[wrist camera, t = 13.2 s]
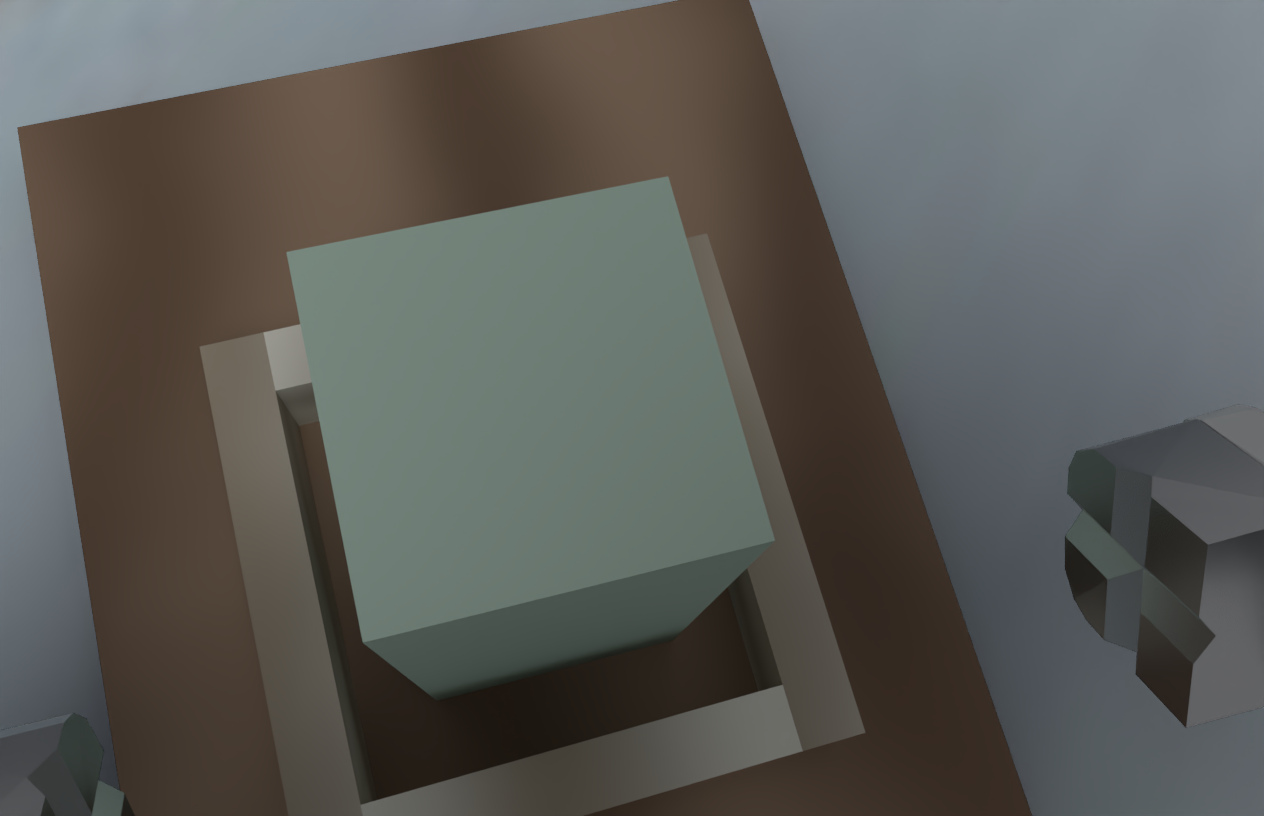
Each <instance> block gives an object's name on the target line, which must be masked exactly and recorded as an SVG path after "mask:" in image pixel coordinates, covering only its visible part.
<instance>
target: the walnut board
mask: <svg viewBox="0 0 1264 816" xmlns="http://www.w3.org/2000/svg"><path fill="white" fill-rule="evenodd" d="M18 135H19V141H20V148H21V154H22V160H23V167H24V173H25V180H26V186H27V193H28V199H29V206H30V212H31V219H32V225H33V232H34V238H35V244H36V251H37V257H38V264H39V270H40V277H41V283H42V290H43V296H44V303H45V309H46V316H47V322H48V328H49V335H50V341H51V348H52V354H53V361H54V367H55V374H56V380H57V387H58V393H59V400H60V406H61V412H62V419H63V425H64V432H65V438H66V445H67V451H68V458H69V464H70V471H71V477H72V483H73V490H74V496H75V503H76V509H77V516H78V522H79V529H80V535H81V542H82V548H83V555H84V561H85V567H86V574H87V580H88V587H89V593H90V600H91V606H92V613H93V619H94V626H95V632H96V639H97V645H98V651H99V658H100V664H101V671H102V677H103V684H104V690H105V697H106V703H107V710H108V716H109V723H110V729H111V735H112V742H113V748H114V755H115V761H116V768H117V774H118V781H119V787H120V791H122V792H124V793H125V795H126V797H127V799H128V802H129V804H130V806H131V808H132V810H133V812H134V814H135V816H1032V814H1031V811H1030V808H1029V805H1028V802H1027V800H1026V797H1025V794H1024V791H1023V788H1022V785H1021V782H1020V779H1019V776H1018V774H1017V771H1016V768H1015V765H1014V762H1013V759H1012V756H1011V753H1010V751H1009V748H1008V745H1007V742H1006V739H1005V736H1004V733H1003V730H1002V728H1001V725H1000V722H999V719H998V716H997V713H996V710H995V707H994V705H993V702H992V699H991V696H990V693H989V690H988V687H987V684H986V681H985V679H984V676H983V673H982V670H981V667H980V664H979V661H978V658H977V656H976V653H975V650H974V647H973V644H972V641H971V638H970V635H969V633H968V630H967V627H966V624H965V621H964V618H963V615H962V612H961V609H960V607H959V604H958V601H957V598H956V595H955V592H954V589H953V586H952V584H951V581H950V578H949V575H948V572H947V569H946V566H945V563H944V561H943V558H942V555H941V552H940V549H939V546H938V543H937V540H936V538H935V535H934V532H933V529H932V526H931V523H930V520H929V517H928V514H927V512H926V509H925V506H924V503H923V500H922V497H921V494H920V491H919V489H918V486H917V483H916V480H915V477H914V474H913V471H912V468H911V466H910V463H909V460H908V457H907V454H906V451H905V448H904V445H903V442H902V440H901V437H900V434H899V431H898V428H897V425H896V422H895V419H894V417H893V414H892V411H891V408H890V405H889V402H888V399H887V396H886V394H885V391H884V388H883V385H882V382H881V379H880V376H879V373H878V370H877V368H876V365H875V362H874V359H873V356H872V353H871V350H870V347H869V345H868V342H867V339H866V336H865V333H864V330H863V327H862V324H861V322H860V319H859V316H858V313H857V310H856V307H855V304H854V301H853V299H852V296H851V293H850V290H849V287H848V284H847V281H846V278H845V275H844V273H843V270H842V267H841V264H840V261H839V258H838V255H837V252H836V250H835V247H834V244H833V241H832V238H831V235H830V232H829V229H828V227H827V224H826V221H825V218H824V215H823V212H822V209H821V206H820V203H819V201H818V198H817V195H816V192H815V189H814V186H813V183H812V180H811V178H810V175H809V172H808V169H807V166H806V163H805V160H804V157H803V155H802V152H801V149H800V146H799V143H798V140H797V137H796V134H795V132H794V129H793V126H792V123H791V120H790V117H789V114H788V111H787V108H786V106H785V103H784V100H783V97H782V94H781V91H780V88H779V85H778V83H777V80H776V77H775V74H774V71H773V68H772V65H771V62H770V60H769V57H768V54H767V51H766V48H765V45H764V42H763V39H762V36H761V34H760V31H759V28H758V25H757V22H756V19H755V16H754V13H753V11H752V8H751V5H750V2H749V0H678V1H673V2H668V3H663V4H657V5H652V6H647V7H642V8H637V9H631V10H626V11H621V12H616V13H611V14H605V15H600V16H595V17H590V18H585V19H579V20H574V21H569V22H564V23H559V24H553V25H548V26H543V27H538V28H533V29H527V30H522V31H517V32H512V33H507V34H501V35H496V36H491V37H486V38H481V39H475V40H470V41H465V42H460V43H455V44H449V45H444V46H439V47H434V48H429V49H423V50H418V51H413V52H408V53H403V54H397V55H392V56H387V57H382V58H377V59H371V60H366V61H361V62H356V63H351V64H345V65H340V66H335V67H330V68H325V69H319V70H314V71H309V72H304V73H299V74H293V75H288V76H283V77H278V78H273V79H267V80H262V81H257V82H252V83H247V84H241V85H236V86H231V87H226V88H221V89H215V90H210V91H205V92H200V93H195V94H189V95H184V96H179V97H174V98H169V99H163V100H158V101H153V102H148V103H143V104H137V105H132V106H127V107H122V108H117V109H111V110H106V111H101V112H96V113H91V114H85V115H80V116H75V117H70V118H65V119H59V120H54V121H49V122H44V123H39V124H33V125H28V126H23V127H18ZM667 176H668V177H669V181H670V184H671V187H672V191H673V194H674V198H675V201H676V204H677V208H678V211H679V215H680V218H681V222H682V225H683V228H684V232H685V235H686V239H687V242H688V245H689V249H690V252H691V256H692V259H693V262H694V266H695V269H696V273H697V276H698V279H699V283H700V286H701V290H702V293H703V297H704V300H705V303H706V307H707V310H708V314H709V317H710V320H711V324H712V327H713V331H714V334H715V337H716V341H717V344H718V348H719V351H720V354H721V358H722V361H723V365H724V368H725V372H726V375H727V378H728V382H729V385H730V389H731V392H732V395H733V399H734V402H735V406H736V409H737V412H738V416H739V419H740V423H741V426H742V429H743V433H744V436H745V440H746V443H747V447H748V450H749V453H750V457H751V460H752V464H753V467H754V470H755V474H756V477H757V481H758V484H759V487H760V491H761V494H762V498H763V501H764V504H765V508H766V511H767V515H768V518H769V522H770V525H771V528H772V532H773V535H774V539H775V541H774V542H773V543H772V544H771V545H770V546H769V547H768V548H767V549H766V550H765V551H764V552H763V553H762V554H761V555H760V556H759V557H758V558H757V559H756V560H755V561H754V562H753V563H752V564H751V565H750V566H749V567H748V568H747V569H746V570H744V571H743V572H742V573H741V574H740V575H739V576H738V577H737V578H736V579H735V580H734V581H733V582H732V583H731V584H730V585H729V586H728V587H727V588H726V589H725V590H724V591H723V592H722V593H721V594H720V595H719V596H718V597H717V598H716V599H715V600H714V601H713V602H712V603H711V604H710V605H709V606H708V607H706V608H705V609H704V610H703V611H702V612H701V613H700V614H699V615H698V616H697V617H696V618H695V619H694V620H693V621H692V622H691V623H690V624H689V625H688V626H687V627H686V628H685V629H684V630H683V631H682V632H681V633H680V634H679V635H678V636H677V637H676V638H675V639H674V640H672V641H668V642H664V643H660V644H656V645H653V646H649V647H645V648H641V649H637V650H633V651H629V652H625V653H621V654H617V655H614V656H610V657H606V658H602V659H598V660H594V661H590V662H586V663H582V664H579V665H575V666H571V667H567V668H563V669H559V670H555V671H551V672H547V673H543V674H540V675H536V676H532V677H528V678H524V679H520V680H516V681H512V682H508V683H505V684H501V685H497V686H493V687H489V688H485V689H481V690H477V691H473V692H469V693H466V694H462V695H458V696H454V697H450V698H446V699H442V700H438V701H437V700H435V699H434V698H433V697H431V696H430V695H429V694H428V693H426V692H425V691H424V690H423V689H421V688H420V687H419V686H417V685H416V684H415V683H414V682H412V681H411V680H410V679H408V678H407V677H406V676H405V675H403V674H402V673H401V672H399V671H398V670H397V669H396V668H394V667H393V666H392V665H391V664H389V663H388V662H387V661H385V660H384V659H383V658H382V657H380V656H379V655H378V654H376V653H375V652H374V651H373V650H371V649H370V648H369V647H368V646H366V645H365V644H364V643H363V642H362V637H361V632H360V626H359V621H358V616H357V611H356V606H355V601H354V596H353V591H352V586H351V580H350V575H349V570H348V565H347V560H346V555H345V550H344V545H343V539H342V534H341V529H340V524H339V519H338V514H337V509H336V504H335V499H334V493H333V488H332V483H331V478H330V473H329V468H328V463H327V458H326V453H325V447H324V442H323V437H322V432H321V427H320V422H319V417H318V412H317V407H316V401H315V396H314V391H313V386H312V381H311V376H310V371H309V366H308V360H307V355H306V350H305V345H304V340H303V335H302V330H301V325H300V320H299V314H298V309H297V304H296V299H295V294H294V289H293V284H292V279H291V274H290V268H289V263H288V258H287V253H286V252H289V251H294V250H299V249H304V248H309V247H314V246H319V245H324V244H329V243H334V242H339V241H344V240H349V239H355V238H360V237H365V236H370V235H375V234H380V233H385V232H390V231H395V230H400V229H405V228H410V227H415V226H420V225H425V224H430V223H435V222H440V221H445V220H450V219H455V218H460V217H465V216H470V215H475V214H480V213H485V212H490V211H495V210H501V209H506V208H511V207H516V206H521V205H526V204H531V203H536V202H541V201H546V200H551V199H556V198H561V197H566V196H571V195H576V194H581V193H586V192H591V191H596V190H601V189H606V188H611V187H616V186H621V185H626V184H631V183H636V182H641V181H647V180H652V179H657V178H662V177H667Z"/></svg>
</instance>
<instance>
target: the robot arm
mask: <svg viewBox="0 0 1264 816" xmlns="http://www.w3.org/2000/svg"><path fill="white" fill-rule="evenodd" d="M1067 493H1068V495H1069V496H1070V497H1071V498H1072V499H1073V500H1074V501H1075V502H1076V503H1077V504H1078V506H1079V507H1080V508H1081V509H1082V512H1081V513H1080V515H1079V516H1078V518H1077V519H1076V521H1075V522H1074V524H1073V525H1072V527H1071V528H1070V530H1069V531H1068V533H1067V534H1066V536H1065V570H1066V574H1067V577H1068V580H1069V584H1070V587H1071V590H1072V594H1073V597H1074V600H1075V601H1076V603H1077V605H1078V607H1079V608H1080V610H1081V612H1082V614H1083V615H1084V617H1085V619H1086V620H1087V621H1088V623H1089V624H1090V625H1091V626H1092V627H1093V628H1094V629H1095V630H1096V632H1097V633H1098V634H1099V635H1100V636H1101V637H1102V638H1103V639H1104V640H1106V641H1108V642H1111V643H1114V644H1116V645H1119V646H1122V647H1124V648H1127V649H1130V650H1132V651H1135V652H1137V655H1136V675H1137V676H1138V677H1139V678H1140V679H1141V680H1142V681H1143V683H1144V684H1145V685H1146V686H1147V687H1148V688H1149V689H1150V690H1151V691H1152V692H1153V693H1154V694H1155V695H1156V696H1157V697H1158V698H1159V700H1160V701H1161V702H1162V703H1163V704H1164V705H1165V706H1166V707H1167V708H1168V709H1169V710H1170V711H1171V712H1172V713H1173V714H1174V716H1175V717H1176V718H1177V719H1178V720H1179V721H1180V722H1181V723H1182V724H1183V725H1184V726H1185V727H1186V728H1188V727H1192V726H1195V725H1199V724H1203V723H1206V722H1210V721H1214V720H1217V719H1221V718H1225V717H1229V716H1232V715H1236V714H1240V713H1243V712H1247V711H1251V710H1254V709H1258V708H1262V707H1264V412H1262V411H1261V410H1259V409H1258V408H1254V407H1250V406H1244V405H1239V404H1237V405H1234V406H1231V407H1227V408H1224V409H1220V410H1217V411H1214V412H1210V413H1207V414H1203V415H1200V416H1197V417H1193V418H1190V419H1186V420H1184V422H1183V423H1180V424H1176V425H1172V426H1168V427H1165V428H1161V429H1157V430H1153V431H1150V432H1146V433H1142V434H1138V435H1135V436H1131V437H1127V438H1123V439H1120V440H1116V441H1112V442H1108V443H1105V444H1101V445H1097V446H1093V447H1090V448H1086V449H1082V450H1078V451H1076V453H1075V455H1074V457H1073V460H1072V462H1071V464H1070V467H1069V474H1068V490H1067ZM103 753H104V750H103V748H102V746H101V744H100V742H99V741H98V739H97V737H96V735H95V733H94V731H93V729H92V728H91V726H90V724H89V722H88V720H87V719H86V718H84V717H82V716H79V715H77V714H75V713H70V714H66V715H62V716H58V717H54V718H50V719H45V720H41V721H37V722H33V723H29V724H25V725H20V726H16V727H12V728H8V729H4V730H0V816H135V814H134V812H133V810H132V808H131V806H130V804H129V802H128V799H127V797H126V795H125V793H124V792H122V791H120V790H117V789H115V788H113V787H111V786H109V785H107V784H105V783H103V782H101V781H99V774H100V769H101V764H102V758H103Z"/></svg>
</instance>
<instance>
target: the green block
mask: <svg viewBox="0 0 1264 816" xmlns="http://www.w3.org/2000/svg"><path fill="white" fill-rule="evenodd" d="M286 253H287V258H288V263H289V268H290V274H291V279H292V284H293V289H294V294H295V299H296V304H297V309H298V314H299V320H300V325H301V330H302V335H303V340H304V345H305V350H306V355H307V360H308V366H309V371H310V376H311V381H312V386H313V391H314V396H315V401H316V407H317V412H318V417H319V422H320V427H321V432H322V437H323V442H324V447H325V453H326V458H327V463H328V468H329V473H330V478H331V483H332V488H333V493H334V499H335V504H336V509H337V514H338V519H339V524H340V529H341V534H342V539H343V545H344V550H345V555H346V560H347V565H348V570H349V575H350V580H351V586H352V591H353V596H354V601H355V606H356V611H357V616H358V621H359V626H360V632H361V637H362V642H363V643H364V644H365V645H366V646H368V647H369V648H370V649H371V650H373V651H374V652H375V653H376V654H378V655H379V656H380V657H382V658H383V659H384V660H385V661H387V662H388V663H389V664H391V665H392V666H393V667H394V668H396V669H397V670H398V671H399V672H401V673H402V674H403V675H405V676H406V677H407V678H408V679H410V680H411V681H412V682H414V683H415V684H416V685H417V686H419V687H420V688H421V689H423V690H424V691H425V692H426V693H428V694H429V695H430V696H431V697H433V698H434V699H435V700H437V701H438V700H442V699H446V698H450V697H454V696H458V695H462V694H466V693H469V692H473V691H477V690H481V689H485V688H489V687H493V686H497V685H501V684H505V683H508V682H512V681H516V680H520V679H524V678H528V677H532V676H536V675H540V674H543V673H547V672H551V671H555V670H559V669H563V668H567V667H571V666H575V665H579V664H582V663H586V662H590V661H594V660H598V659H602V658H606V657H610V656H614V655H617V654H621V653H625V652H629V651H633V650H637V649H641V648H645V647H649V646H653V645H656V644H660V643H664V642H668V641H672V640H674V639H675V638H676V637H677V636H678V635H679V634H680V633H681V632H682V631H683V630H684V629H685V628H686V627H687V626H688V625H689V624H690V623H691V622H692V621H693V620H694V619H695V618H696V617H697V616H698V615H699V614H700V613H701V612H702V611H703V610H704V609H705V608H706V607H708V606H709V605H710V604H711V603H712V602H713V601H714V600H715V599H716V598H717V597H718V596H719V595H720V594H721V593H722V592H723V591H724V590H725V589H726V588H727V587H728V586H729V585H730V584H731V583H732V582H733V581H734V580H735V579H736V578H737V577H738V576H739V575H740V574H741V573H742V572H743V571H744V570H746V569H747V568H748V567H749V566H750V565H751V564H752V563H753V562H754V561H755V560H756V559H757V558H758V557H759V556H760V555H761V554H762V553H763V552H764V551H765V550H766V549H767V548H768V547H769V546H770V545H771V544H772V543H773V542H774V541H775V539H774V535H773V532H772V528H771V525H770V522H769V518H768V515H767V511H766V508H765V504H764V501H763V498H762V494H761V491H760V487H759V484H758V481H757V477H756V474H755V470H754V467H753V464H752V460H751V457H750V453H749V450H748V447H747V443H746V440H745V436H744V433H743V429H742V426H741V423H740V419H739V416H738V412H737V409H736V406H735V402H734V399H733V395H732V392H731V389H730V385H729V382H728V378H727V375H726V372H725V368H724V365H723V361H722V358H721V354H720V351H719V348H718V344H717V341H716V337H715V334H714V331H713V327H712V324H711V320H710V317H709V314H708V310H707V307H706V303H705V300H704V297H703V293H702V290H701V286H700V283H699V279H698V276H697V273H696V269H695V266H694V262H693V259H692V256H691V252H690V249H689V245H688V242H687V239H686V235H685V232H684V228H683V225H682V222H681V218H680V215H679V211H678V208H677V204H676V201H675V198H674V194H673V191H672V187H671V184H670V181H669V177H668V176H667V177H662V178H657V179H652V180H647V181H641V182H636V183H631V184H626V185H621V186H616V187H611V188H606V189H601V190H596V191H591V192H586V193H581V194H576V195H571V196H566V197H561V198H556V199H551V200H546V201H541V202H536V203H531V204H526V205H521V206H516V207H511V208H506V209H501V210H495V211H490V212H485V213H480V214H475V215H470V216H465V217H460V218H455V219H450V220H445V221H440V222H435V223H430V224H425V225H420V226H415V227H410V228H405V229H400V230H395V231H390V232H385V233H380V234H375V235H370V236H365V237H360V238H355V239H349V240H344V241H339V242H334V243H329V244H324V245H319V246H314V247H309V248H304V249H299V250H294V251H289V252H286Z"/></svg>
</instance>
